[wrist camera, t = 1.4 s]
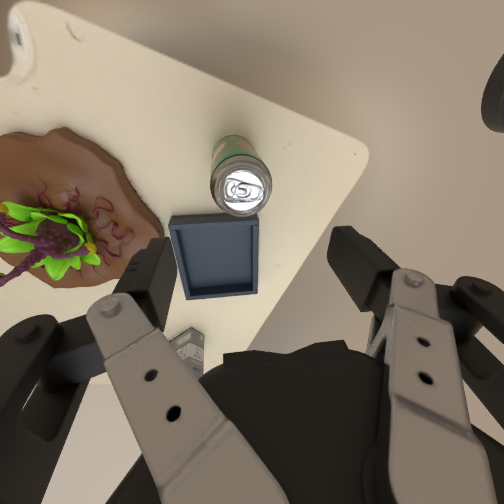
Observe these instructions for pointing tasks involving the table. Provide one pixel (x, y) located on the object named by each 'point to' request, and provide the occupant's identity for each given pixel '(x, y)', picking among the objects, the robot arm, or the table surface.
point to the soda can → (239, 177)
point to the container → (216, 254)
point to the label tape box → (191, 350)
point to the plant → (68, 211)
